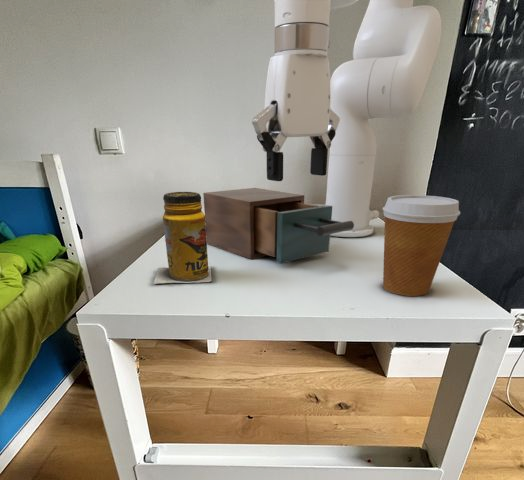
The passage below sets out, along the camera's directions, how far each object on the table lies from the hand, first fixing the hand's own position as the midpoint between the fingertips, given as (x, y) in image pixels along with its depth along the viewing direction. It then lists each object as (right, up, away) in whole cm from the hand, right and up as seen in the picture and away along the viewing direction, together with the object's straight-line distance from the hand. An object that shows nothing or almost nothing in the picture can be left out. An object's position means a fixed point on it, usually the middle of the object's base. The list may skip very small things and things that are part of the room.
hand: (297, 177), depth 63 cm
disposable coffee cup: (+15, -20, -8) cm, 26 cm away
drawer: (0, -11, +5) cm, 12 cm away
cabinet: (-8, -8, +14) cm, 17 cm away
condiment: (-18, -17, -3) cm, 25 cm away
